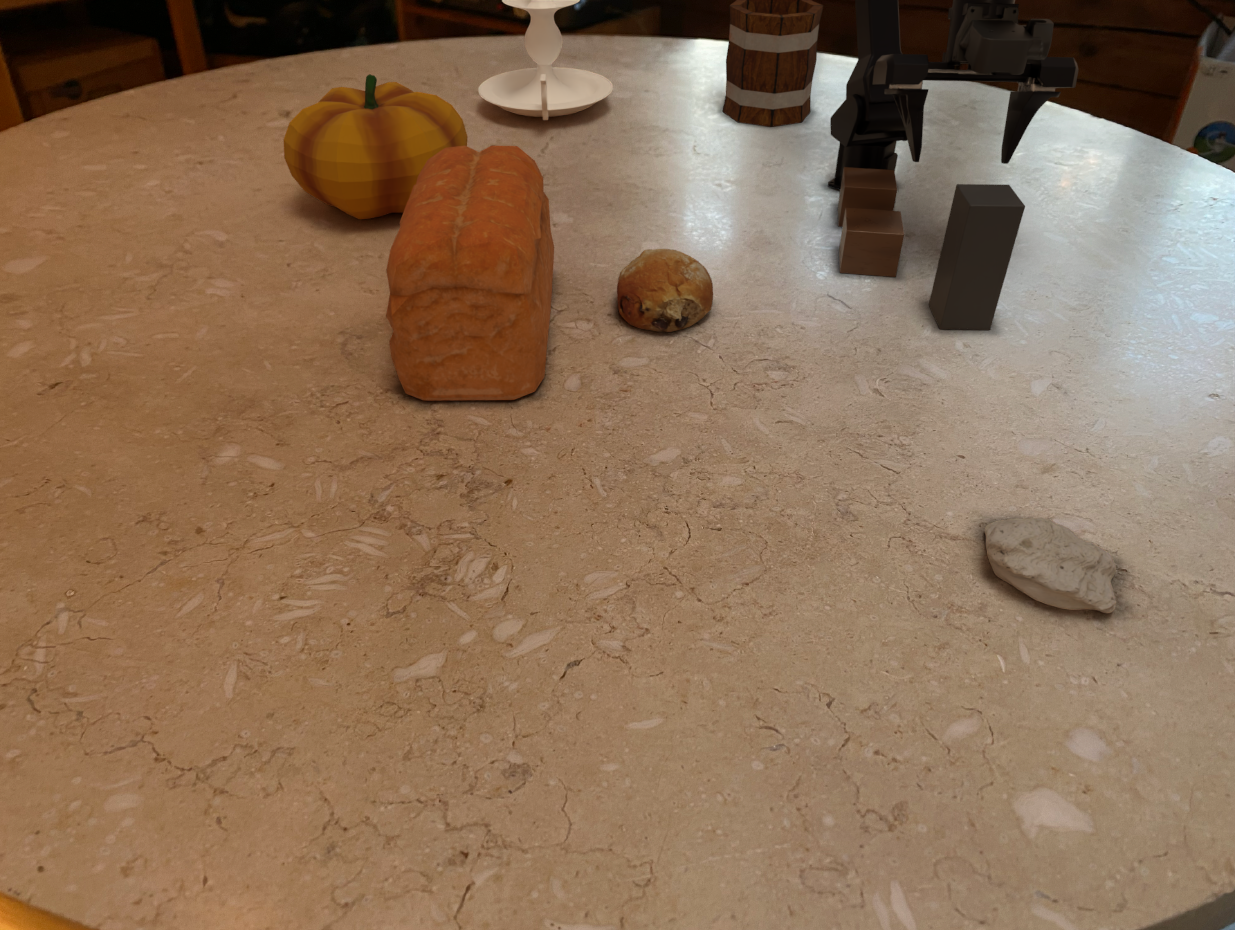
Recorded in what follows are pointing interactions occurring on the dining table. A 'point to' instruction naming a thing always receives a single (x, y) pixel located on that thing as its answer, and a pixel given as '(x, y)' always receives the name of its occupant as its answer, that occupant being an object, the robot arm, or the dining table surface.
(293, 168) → the decorative pumpkin
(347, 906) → the dining table surface
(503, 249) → the bread
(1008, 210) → the tall block
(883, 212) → the block
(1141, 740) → the dining table surface
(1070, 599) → the stone
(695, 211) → the dining table surface
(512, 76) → the candlestick
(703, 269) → the bread roll
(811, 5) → the mug
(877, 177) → the block
